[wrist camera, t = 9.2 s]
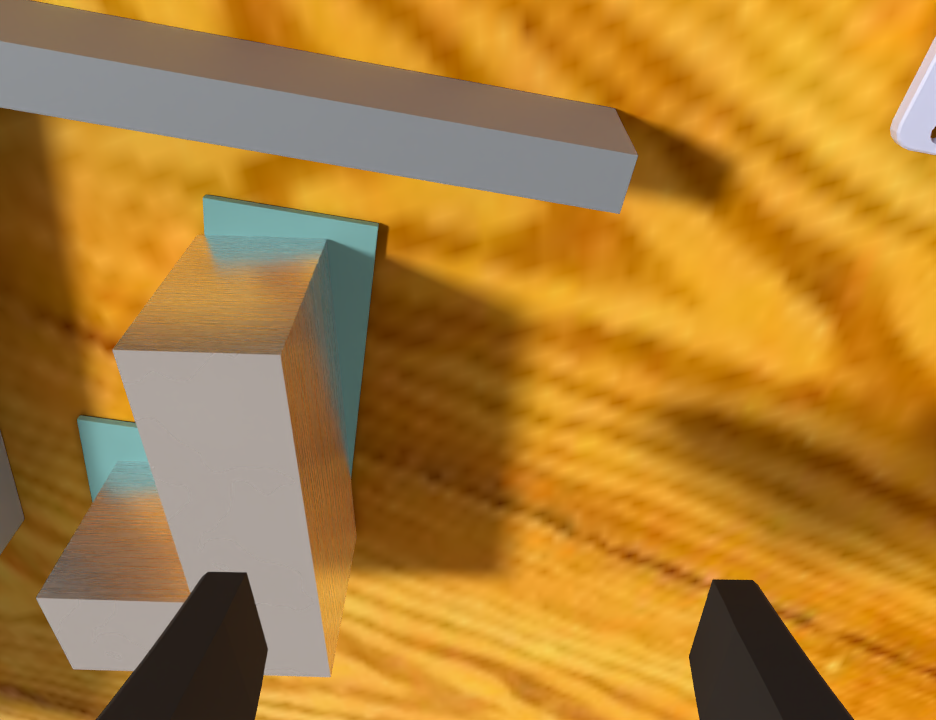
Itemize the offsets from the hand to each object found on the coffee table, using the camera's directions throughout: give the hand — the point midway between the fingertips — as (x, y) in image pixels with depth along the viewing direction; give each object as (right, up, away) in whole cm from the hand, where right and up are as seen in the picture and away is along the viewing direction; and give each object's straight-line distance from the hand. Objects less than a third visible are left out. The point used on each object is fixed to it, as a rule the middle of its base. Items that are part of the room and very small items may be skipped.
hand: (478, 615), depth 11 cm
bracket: (-7, +3, +10) cm, 12 cm away
